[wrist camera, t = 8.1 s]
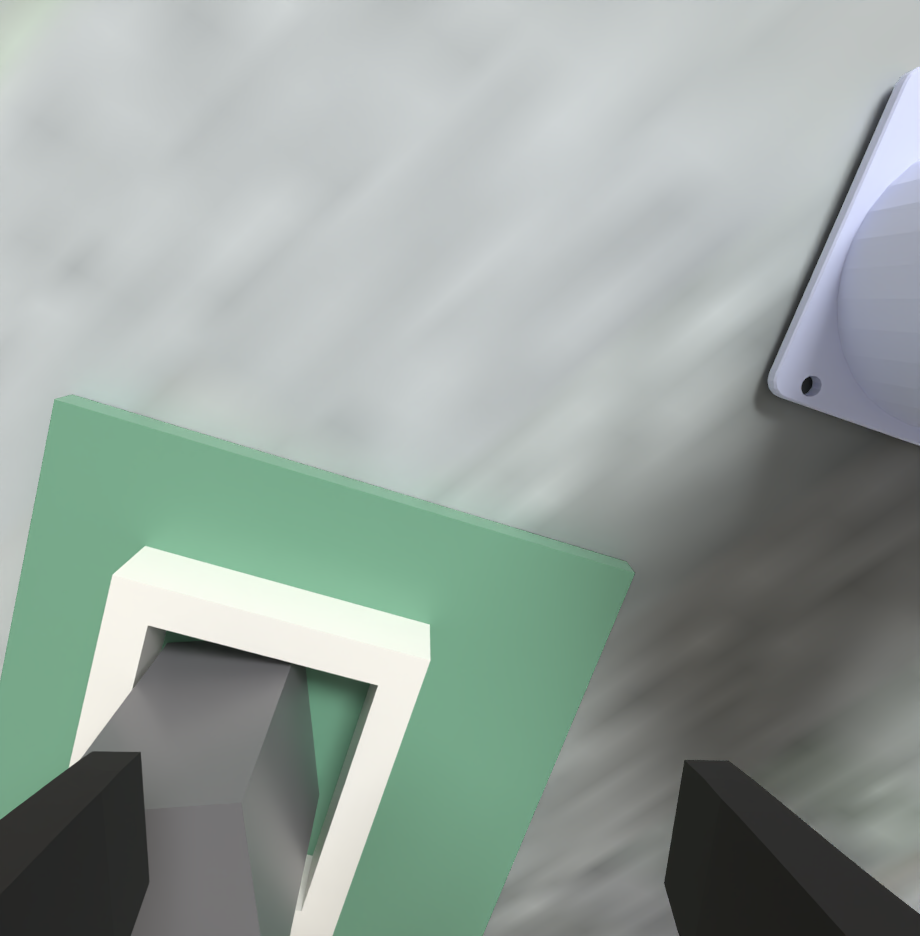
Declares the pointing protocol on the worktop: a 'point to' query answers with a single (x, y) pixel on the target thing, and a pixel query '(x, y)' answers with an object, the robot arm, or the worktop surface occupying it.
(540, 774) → the header board
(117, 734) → the plug
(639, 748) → the worktop surface
